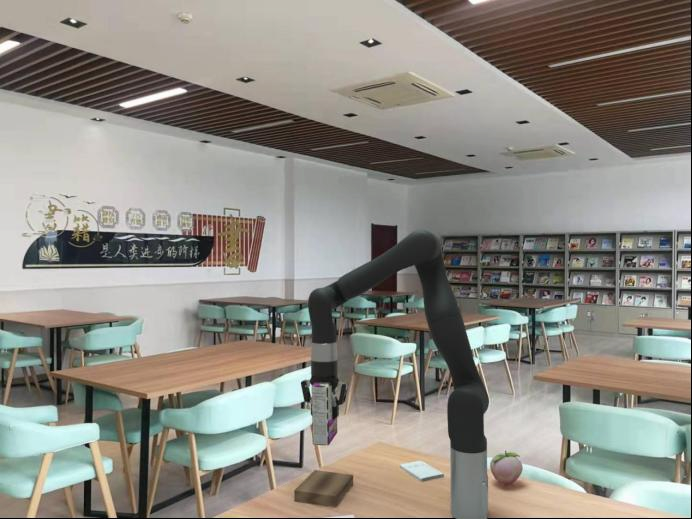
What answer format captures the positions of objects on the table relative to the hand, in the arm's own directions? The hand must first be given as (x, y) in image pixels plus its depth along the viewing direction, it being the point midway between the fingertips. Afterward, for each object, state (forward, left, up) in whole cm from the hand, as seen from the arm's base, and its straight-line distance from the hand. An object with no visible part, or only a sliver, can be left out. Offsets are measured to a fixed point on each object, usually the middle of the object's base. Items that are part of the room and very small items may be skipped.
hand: (324, 417), depth 152 cm
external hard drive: (-23, -23, -22) cm, 39 cm away
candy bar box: (0, 0, -6) cm, 6 cm away
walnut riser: (0, 0, -21) cm, 21 cm away
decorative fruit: (-48, -22, -21) cm, 57 cm away
